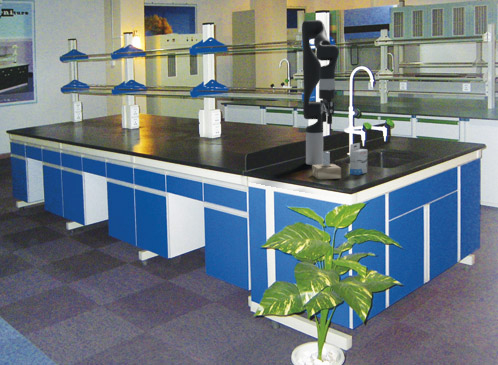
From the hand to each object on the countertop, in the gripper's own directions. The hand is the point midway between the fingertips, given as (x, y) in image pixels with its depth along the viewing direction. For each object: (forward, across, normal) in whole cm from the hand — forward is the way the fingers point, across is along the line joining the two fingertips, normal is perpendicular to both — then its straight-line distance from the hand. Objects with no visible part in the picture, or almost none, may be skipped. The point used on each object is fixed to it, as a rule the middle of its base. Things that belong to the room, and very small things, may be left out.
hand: (326, 122), depth 288 cm
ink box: (+26, -3, +18) cm, 32 cm away
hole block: (+26, 0, 0) cm, 26 cm away
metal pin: (+26, 0, 0) cm, 26 cm away
